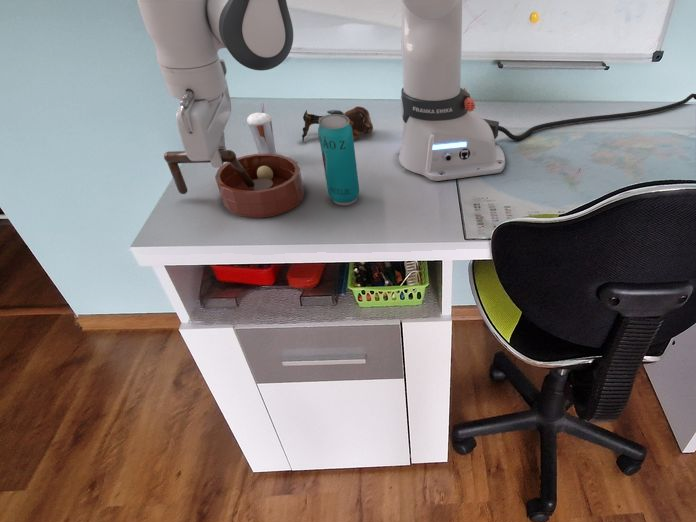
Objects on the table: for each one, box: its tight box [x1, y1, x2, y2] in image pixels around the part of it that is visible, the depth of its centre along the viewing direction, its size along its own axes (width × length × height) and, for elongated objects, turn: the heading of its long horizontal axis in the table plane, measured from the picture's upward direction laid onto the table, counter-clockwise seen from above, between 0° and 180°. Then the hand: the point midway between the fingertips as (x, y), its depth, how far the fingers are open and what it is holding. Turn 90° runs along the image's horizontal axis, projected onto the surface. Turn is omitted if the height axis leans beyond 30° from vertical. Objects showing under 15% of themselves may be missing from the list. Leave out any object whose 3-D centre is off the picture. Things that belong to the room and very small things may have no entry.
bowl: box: [214, 153, 305, 219], centre depth 100 cm, size 15×15×5 cm
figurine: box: [301, 106, 374, 143], centre depth 119 cm, size 8×16×6 cm, turn 98°
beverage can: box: [317, 114, 360, 207], centre depth 96 cm, size 6×6×15 cm
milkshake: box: [246, 102, 277, 154], centre depth 109 cm, size 4×5×10 cm
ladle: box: [163, 149, 274, 195], centre depth 97 cm, size 17×4×8 cm, turn 98°
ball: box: [257, 166, 273, 180], centre depth 103 cm, size 3×3×3 cm
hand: (220, 161), depth 95 cm, fingers closed on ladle, 2 cm apart
